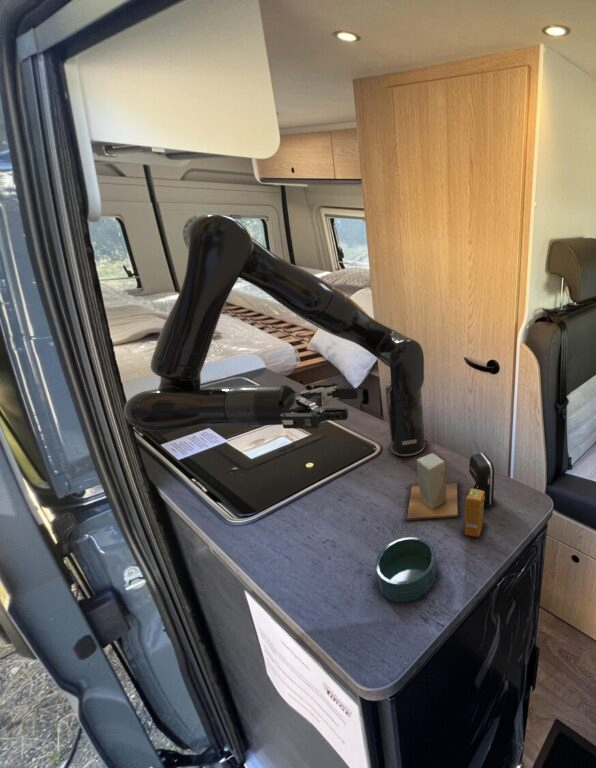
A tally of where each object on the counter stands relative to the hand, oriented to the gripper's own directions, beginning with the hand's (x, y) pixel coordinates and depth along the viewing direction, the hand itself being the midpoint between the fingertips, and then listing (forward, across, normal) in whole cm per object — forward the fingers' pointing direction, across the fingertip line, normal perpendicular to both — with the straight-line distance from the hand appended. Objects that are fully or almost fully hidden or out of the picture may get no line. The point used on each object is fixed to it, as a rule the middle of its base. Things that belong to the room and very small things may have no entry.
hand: (352, 402), depth 74 cm
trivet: (+14, +3, +28) cm, 31 cm away
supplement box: (+23, -7, +28) cm, 37 cm away
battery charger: (+25, +3, +28) cm, 38 cm away
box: (+14, +3, +28) cm, 31 cm away
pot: (+10, -17, +28) cm, 34 cm away
